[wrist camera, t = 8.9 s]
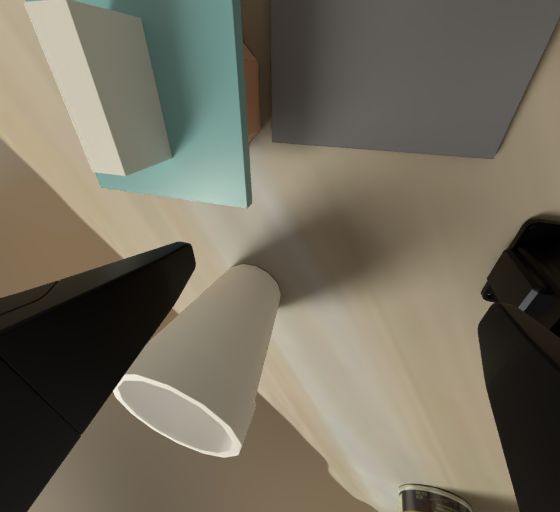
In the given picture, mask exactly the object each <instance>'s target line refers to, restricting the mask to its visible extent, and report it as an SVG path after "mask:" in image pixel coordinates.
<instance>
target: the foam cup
mask: <svg viewBox="0 0 560 512" xmlns="http://www.w3.org/2000/svg"><path fill="white" fill-rule="evenodd" d="M280 297H281V293H280V290H279V287H278V284H277V283H276V281H275V280H274V279H273V278H272V277H271V276H270V274H269V273H267V272H265V271H263V270H262V269H260V268H258V267H256V266H251V265H246V264H241V265H237V266H233V267H231V268H230V269H229V270H227V271H226V272H225V273H224V274H223V275H222V276H221V277H220V278H219V279H218V280H216V281H215V282H214V283H213V284H212V285H211V286H210V287H209V288H208V289H207V290H205V291H204V292H203V293H202V294H201V295H200V296H199V297H198V298H197V299H196V300H195V301H193V302H192V303H191V304H190V305H189V306H188V307H187V308H186V309H185V310H184V311H182V312H181V313H180V314H179V315H178V316H177V317H176V318H175V319H174V320H173V321H172V322H171V323H169V324H168V325H167V326H166V327H165V328H164V329H163V330H162V331H160V332H159V333H158V334H157V335H156V336H155V337H154V338H153V339H152V340H151V341H149V342H148V343H147V344H146V345H145V347H144V348H143V350H142V351H141V352H140V354H139V355H138V357H137V358H136V359H135V361H134V362H133V364H132V365H131V366H130V368H129V369H128V371H127V372H126V373H125V375H124V376H123V378H122V379H121V381H120V382H119V383H118V385H117V386H116V388H115V389H114V390H113V392H114V394H115V396H116V398H117V399H118V400H119V401H120V402H121V403H122V404H123V405H124V406H125V407H126V408H127V409H128V411H129V412H130V413H131V414H133V415H134V416H135V417H137V418H138V419H139V420H141V421H142V422H144V423H145V424H146V425H148V426H149V427H150V428H152V429H153V430H155V431H157V432H159V433H160V434H162V435H164V436H166V437H167V438H170V439H171V440H173V441H175V442H176V443H178V444H181V445H183V446H186V447H188V448H191V449H193V450H196V451H198V452H201V453H204V454H209V455H213V456H219V457H223V458H225V457H231V456H237V455H239V452H240V449H241V446H242V444H243V441H244V438H245V436H246V433H247V430H248V428H249V425H250V422H251V420H252V417H253V414H254V411H255V408H256V404H255V402H254V401H255V397H256V393H257V389H258V385H259V381H260V377H261V373H262V369H263V365H264V361H265V357H266V353H267V349H268V345H269V341H270V337H271V333H272V329H273V325H274V321H275V317H276V313H277V309H278V305H279V301H280Z"/></svg>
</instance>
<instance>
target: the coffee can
mask: <svg viewBox="0 0 560 512" xmlns="http://www.w3.org/2000/svg"><path fill="white" fill-rule="evenodd" d="M398 494H399V511H400V512H472V509H471V507H470V505H469V504H468V503H467V502H465V501H464V500H463V499H461V498H459V497H458V496H456V495H454V494H451V493H449V492H446V491H444V490H441V489H438V488H434V487H430V486H424V485H416V484H407V485H403V486H400V487H399V489H398Z"/></svg>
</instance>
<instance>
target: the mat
mask: <svg viewBox="0 0 560 512" xmlns="http://www.w3.org/2000/svg"><path fill="white" fill-rule="evenodd" d="M559 18H560V0H271V86H272V142H276V143H289V144H302V145H315V146H329V147H342V148H355V149H368V150H381V151H394V152H407V153H420V154H433V155H447V156H460V157H473V158H486V159H493V158H494V156H495V154H496V152H497V150H498V148H499V145H500V143H501V141H502V139H503V137H504V135H505V133H506V130H507V128H508V126H509V124H510V122H511V120H512V118H513V116H514V113H515V111H516V109H517V107H518V105H519V103H520V101H521V99H522V96H523V94H524V92H525V90H526V88H527V86H528V84H529V82H530V79H531V77H532V75H533V73H534V71H535V69H536V67H537V65H538V62H539V60H540V58H541V56H542V54H543V52H544V50H545V48H546V45H547V43H548V41H549V39H550V37H551V35H552V33H553V30H554V28H555V26H556V24H557V22H558V20H559Z"/></svg>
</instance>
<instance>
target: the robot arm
mask: <svg viewBox="0 0 560 512" xmlns="http://www.w3.org/2000/svg"><path fill="white" fill-rule="evenodd" d="M533 226H537V228H536V229H534V230H530V228H531V227H533ZM195 266H196V262H195V257H194V253H193V248H192V246H191V244H189V243H185V242H175V243H172V244H169V245H166V246H163V247H160V248H157V249H154V250H151V251H148V252H144V253H141V254H138V255H135V256H132V257H129V258H126V259H123V260H120V261H117V262H114V263H111V264H107V265H104V266H101V267H98V268H95V269H92V270H89V271H86V272H83V273H80V274H77V275H73V276H70V277H67V278H64V279H61V280H60V281H55V282H52V283H49V284H46V285H42V286H39V287H36V288H33V289H29V290H26V291H24V292H20V293H17V294H13V295H10V296H6V297H3V298H0V512H27V511H28V510H29V508H30V507H31V506H32V504H33V503H34V501H35V500H36V499H37V497H38V496H39V494H40V493H41V492H42V490H43V489H44V487H45V486H46V484H47V483H48V482H49V480H50V479H51V478H52V476H53V475H54V473H55V472H56V470H57V469H58V468H59V466H60V465H61V464H62V462H63V461H64V459H65V458H66V457H67V455H68V454H69V452H70V451H71V449H72V448H73V446H74V445H75V444H76V442H77V441H78V440H79V438H80V437H81V434H83V432H84V431H85V430H86V428H87V427H88V425H89V424H90V423H91V421H92V420H93V418H94V417H95V416H96V414H97V413H98V411H99V410H100V408H101V407H102V406H103V404H104V403H105V401H106V400H107V398H108V397H109V396H110V394H111V393H112V392H113V390H114V389H115V388H116V386H117V385H118V383H119V382H120V381H121V379H122V378H123V376H124V375H125V373H126V372H127V371H128V369H129V368H130V366H131V365H132V364H133V362H134V361H135V359H136V358H137V357H138V355H139V354H140V352H141V351H142V350H143V348H144V347H145V345H146V344H147V343H148V341H149V340H150V338H151V337H152V336H153V334H154V333H155V331H156V330H157V329H158V327H159V326H160V324H161V323H162V322H163V320H164V319H165V317H166V316H167V314H168V313H169V312H170V310H171V309H172V307H173V306H174V304H175V303H176V301H177V300H178V298H179V296H180V294H181V293H182V291H183V289H184V287H185V285H186V284H187V282H188V280H189V278H190V277H191V275H192V273H193V271H194V269H195ZM487 280H488V281H487V283H486V285H485V286H484V288H483V289H482V291H481V295H482V297H483V299H484V300H486V301H490V302H495V303H494V304H492V305H491V306H490V308H489V309H488V311H487V312H486V314H485V315H484V317H483V318H482V320H481V321H480V323H479V325H478V337H479V344H480V351H481V358H482V365H483V372H484V378H485V384H486V389H487V393H488V397H489V400H490V404H491V408H492V411H493V415H494V419H495V422H496V426H497V430H498V433H499V437H500V441H501V445H502V448H503V452H504V456H505V459H506V463H507V467H508V470H509V474H510V478H511V481H512V485H513V489H514V492H515V496H516V500H517V503H518V507H519V511H520V512H560V222H556V221H548V220H540V219H532V220H528V221H527V222H525V223H524V224H523V225H522V227H521V228H520V230H519V232H518V233H517V235H516V236H515V238H514V240H513V241H512V243H511V244H510V246H509V248H508V249H506V250H504V251H503V253H502V255H501V256H500V258H499V260H498V261H497V263H496V264H495V266H494V268H493V269H492V271H491V273H490V274H489V276H488V277H487ZM488 294H492V295H488Z"/></svg>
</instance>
